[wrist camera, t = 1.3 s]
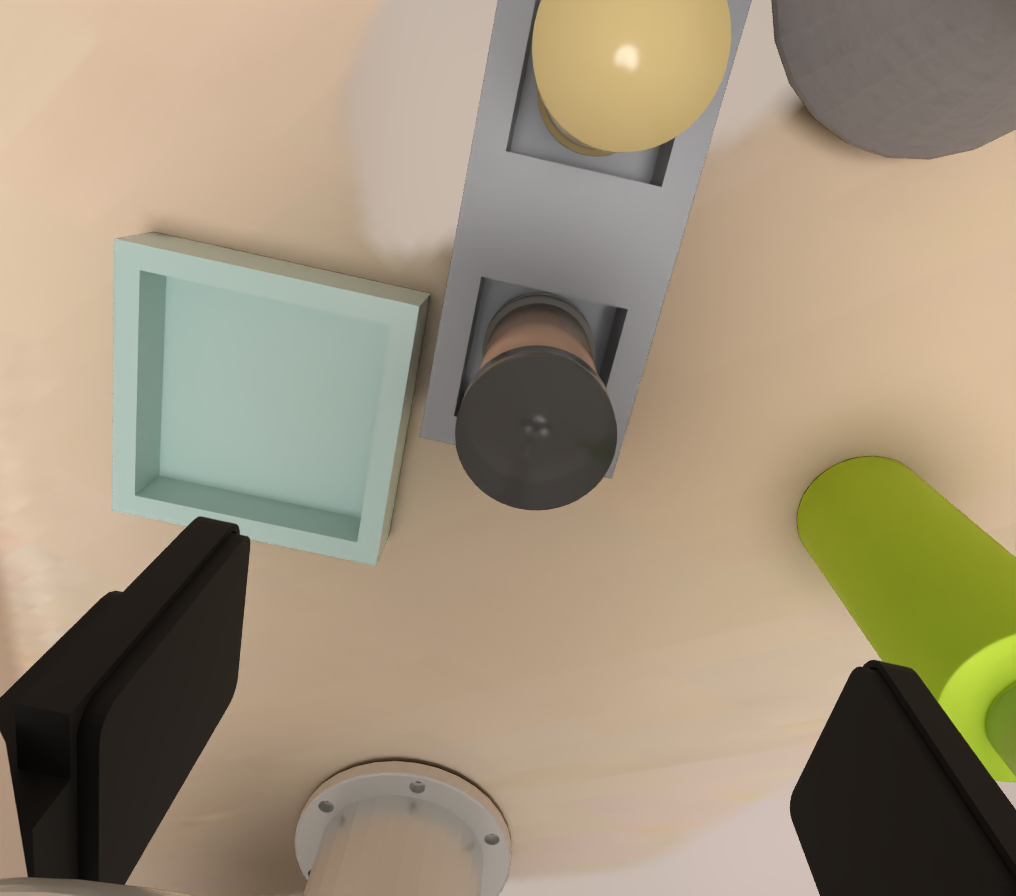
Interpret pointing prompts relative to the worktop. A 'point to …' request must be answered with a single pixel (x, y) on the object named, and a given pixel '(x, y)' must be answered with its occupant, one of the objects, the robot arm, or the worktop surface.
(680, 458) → the worktop surface
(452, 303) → the fuse holder
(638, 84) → the fuse
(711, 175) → the worktop surface
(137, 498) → the parts tray
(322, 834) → the robot arm
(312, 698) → the worktop surface
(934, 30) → the coffee pot
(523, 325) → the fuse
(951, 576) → the soap dispenser
